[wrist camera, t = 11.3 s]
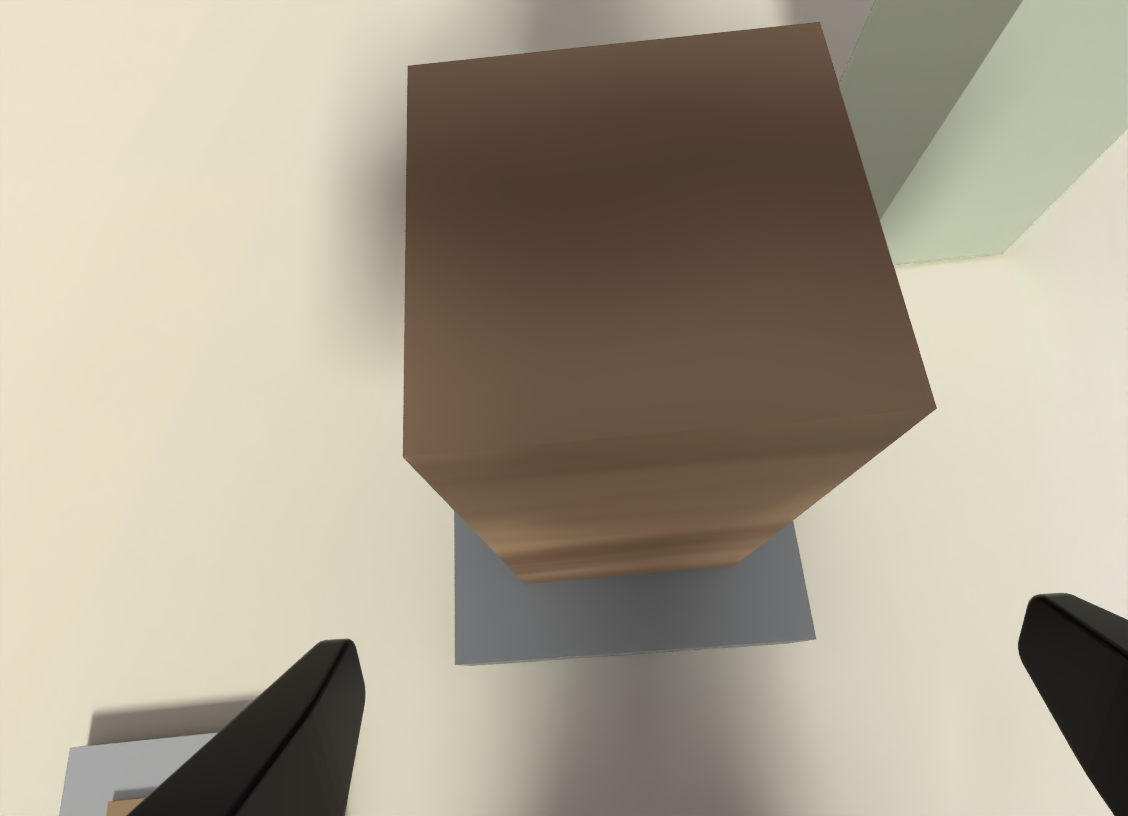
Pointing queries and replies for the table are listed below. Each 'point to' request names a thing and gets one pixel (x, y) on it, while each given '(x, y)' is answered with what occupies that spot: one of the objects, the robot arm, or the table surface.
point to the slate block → (626, 607)
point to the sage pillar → (982, 114)
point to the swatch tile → (122, 773)
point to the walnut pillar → (645, 300)
